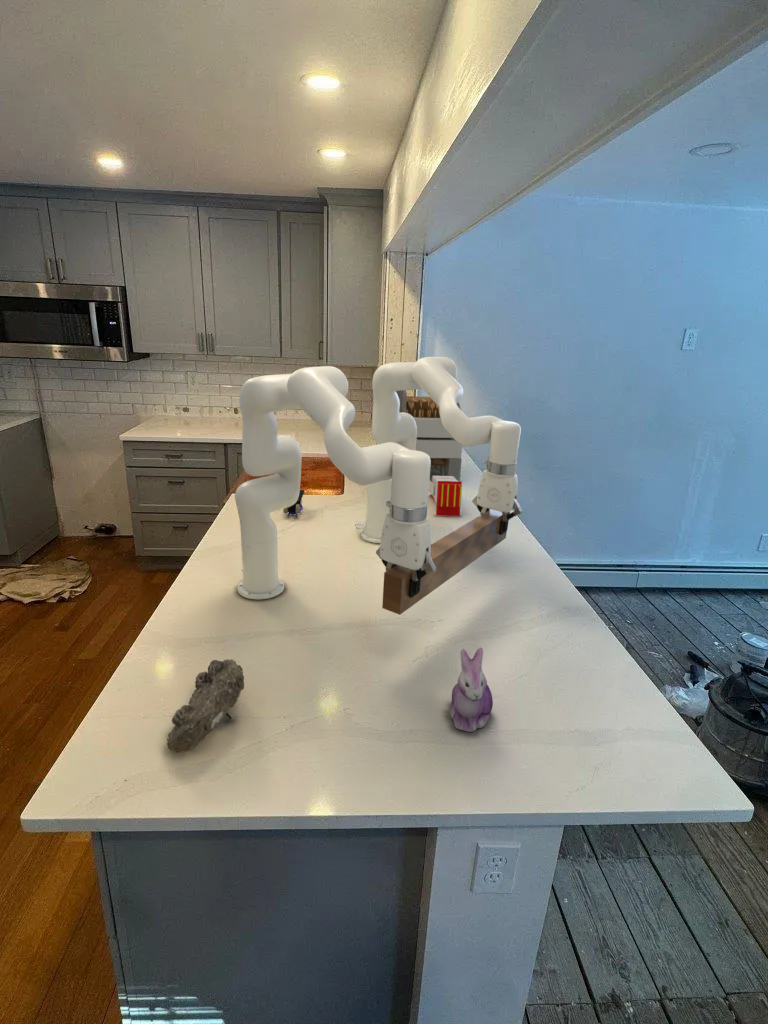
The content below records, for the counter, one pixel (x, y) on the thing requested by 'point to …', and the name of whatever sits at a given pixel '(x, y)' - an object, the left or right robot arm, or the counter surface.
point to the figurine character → (295, 506)
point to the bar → (444, 560)
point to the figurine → (471, 694)
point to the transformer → (433, 434)
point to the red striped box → (446, 495)
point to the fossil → (206, 705)
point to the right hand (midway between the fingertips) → (493, 530)
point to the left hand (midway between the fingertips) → (403, 590)
